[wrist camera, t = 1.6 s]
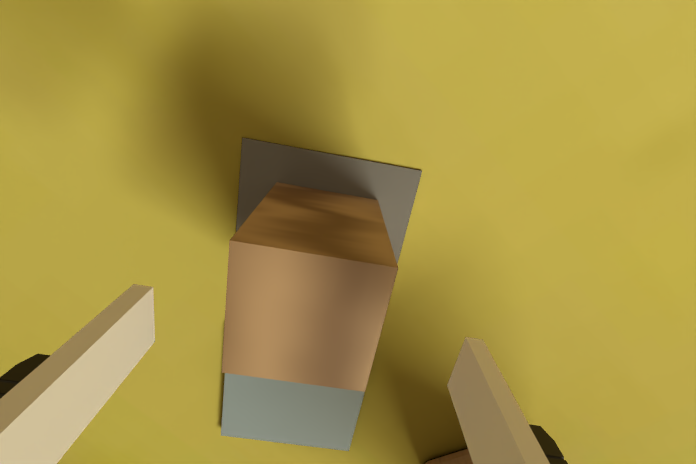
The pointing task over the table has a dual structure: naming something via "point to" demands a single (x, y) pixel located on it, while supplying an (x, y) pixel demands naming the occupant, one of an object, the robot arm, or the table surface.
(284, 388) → the pad
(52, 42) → the table surface
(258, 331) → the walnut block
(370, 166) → the plate
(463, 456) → the wooden block
